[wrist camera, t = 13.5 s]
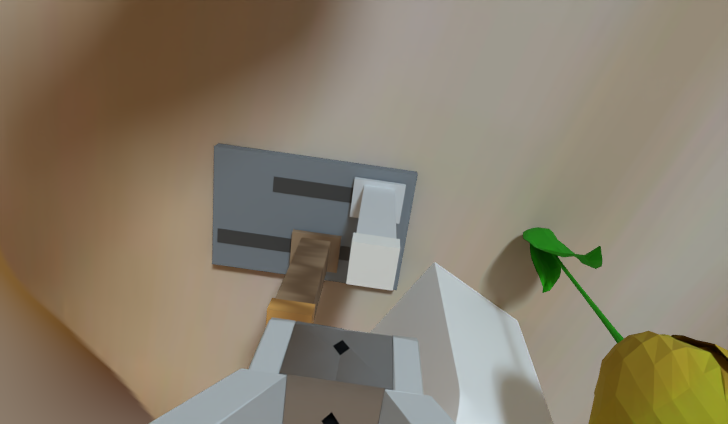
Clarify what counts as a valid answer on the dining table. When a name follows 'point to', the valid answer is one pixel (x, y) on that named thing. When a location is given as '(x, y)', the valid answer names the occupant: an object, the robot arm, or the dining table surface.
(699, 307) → the dining table surface
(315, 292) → the walnut lever
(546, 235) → the flower
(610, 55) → the dining table surface
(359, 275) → the grey lever
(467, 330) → the milk
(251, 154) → the control board
